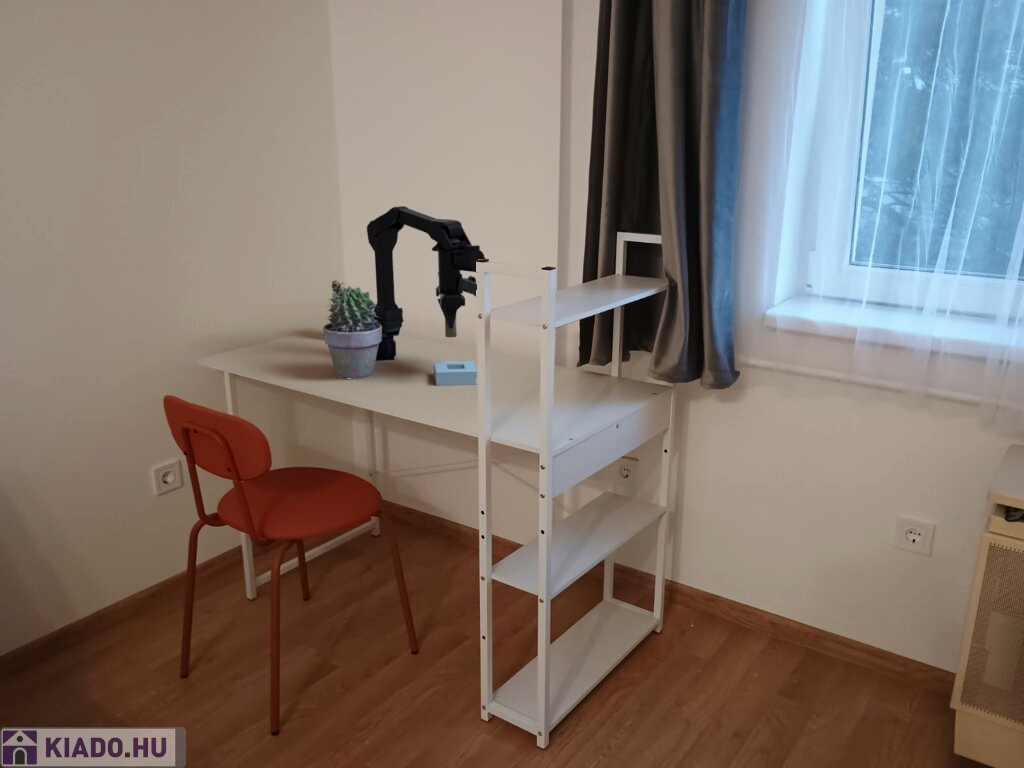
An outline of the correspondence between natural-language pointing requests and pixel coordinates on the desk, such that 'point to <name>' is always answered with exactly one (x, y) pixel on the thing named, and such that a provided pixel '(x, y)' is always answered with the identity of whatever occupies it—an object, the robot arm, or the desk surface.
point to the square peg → (450, 330)
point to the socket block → (455, 373)
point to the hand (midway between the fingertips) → (450, 327)
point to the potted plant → (352, 332)
